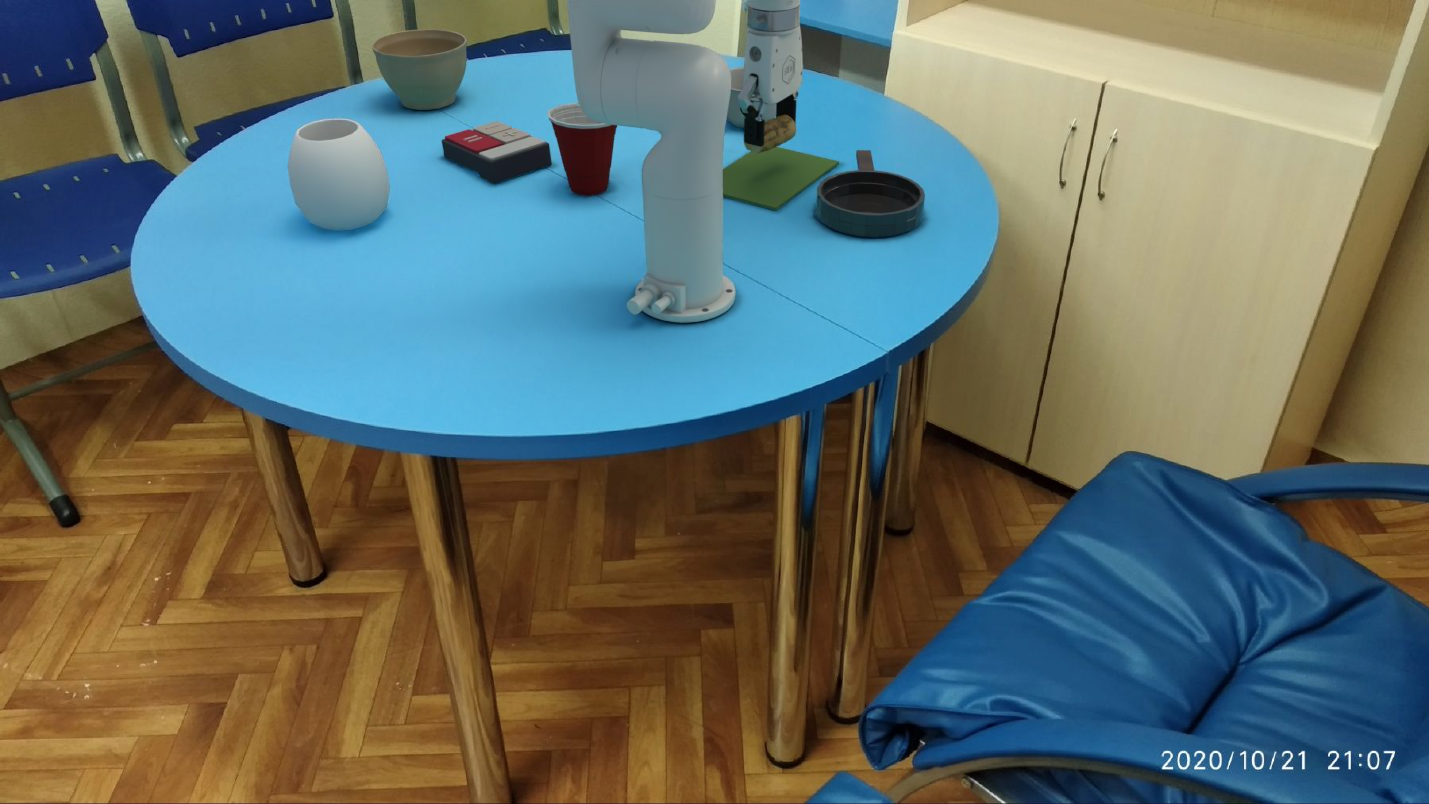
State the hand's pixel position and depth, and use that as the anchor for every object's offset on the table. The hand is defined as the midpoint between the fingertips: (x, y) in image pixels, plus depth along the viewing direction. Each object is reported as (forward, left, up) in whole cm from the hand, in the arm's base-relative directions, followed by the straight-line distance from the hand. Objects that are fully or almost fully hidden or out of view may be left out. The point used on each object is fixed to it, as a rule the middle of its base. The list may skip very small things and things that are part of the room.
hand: (770, 133), depth 159 cm
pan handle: (+6, -13, -4) cm, 15 cm away
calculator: (-18, +40, -7) cm, 44 cm away
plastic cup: (-18, +21, -7) cm, 29 cm away
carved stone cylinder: (0, 0, -2) cm, 2 cm away
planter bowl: (-4, +69, -7) cm, 69 cm away
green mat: (0, 0, -7) cm, 7 cm away
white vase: (-45, +44, -7) cm, 63 cm away
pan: (-4, -19, -7) cm, 21 cm away
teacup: (+18, +16, -7) cm, 25 cm away
